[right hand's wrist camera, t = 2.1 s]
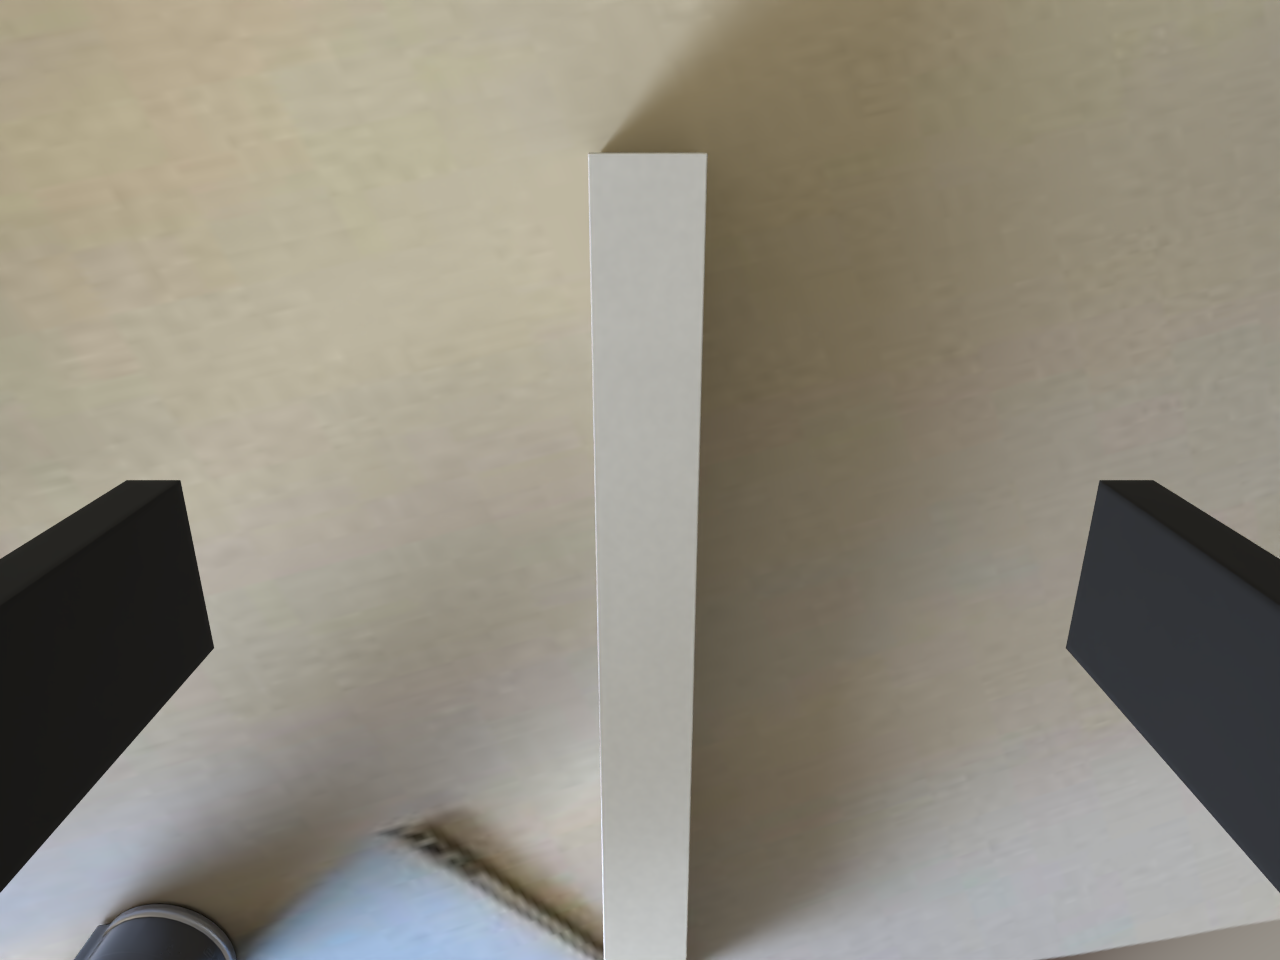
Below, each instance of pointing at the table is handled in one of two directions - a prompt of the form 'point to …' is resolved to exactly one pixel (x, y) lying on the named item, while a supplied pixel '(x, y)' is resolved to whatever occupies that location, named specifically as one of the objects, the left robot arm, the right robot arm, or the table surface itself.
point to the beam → (646, 531)
